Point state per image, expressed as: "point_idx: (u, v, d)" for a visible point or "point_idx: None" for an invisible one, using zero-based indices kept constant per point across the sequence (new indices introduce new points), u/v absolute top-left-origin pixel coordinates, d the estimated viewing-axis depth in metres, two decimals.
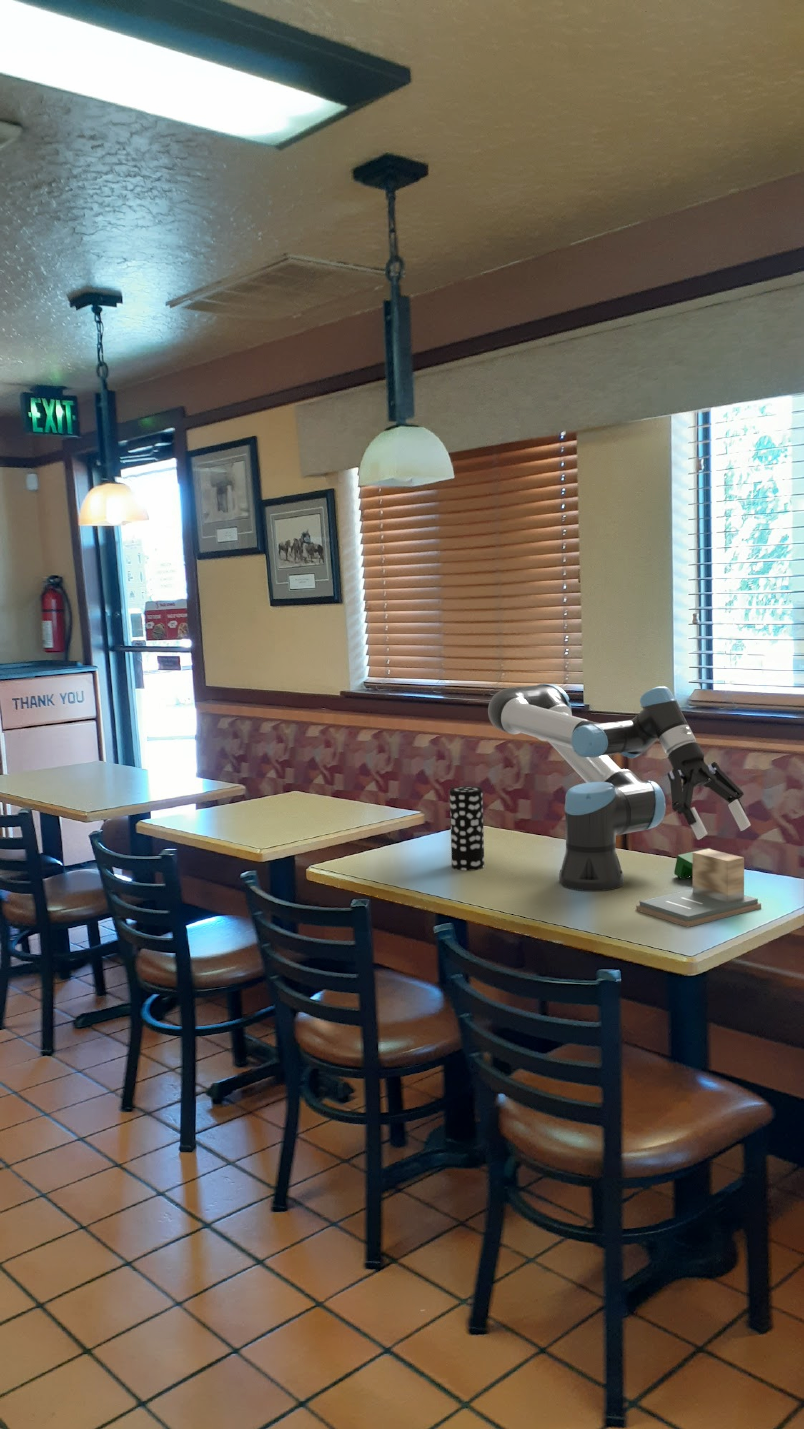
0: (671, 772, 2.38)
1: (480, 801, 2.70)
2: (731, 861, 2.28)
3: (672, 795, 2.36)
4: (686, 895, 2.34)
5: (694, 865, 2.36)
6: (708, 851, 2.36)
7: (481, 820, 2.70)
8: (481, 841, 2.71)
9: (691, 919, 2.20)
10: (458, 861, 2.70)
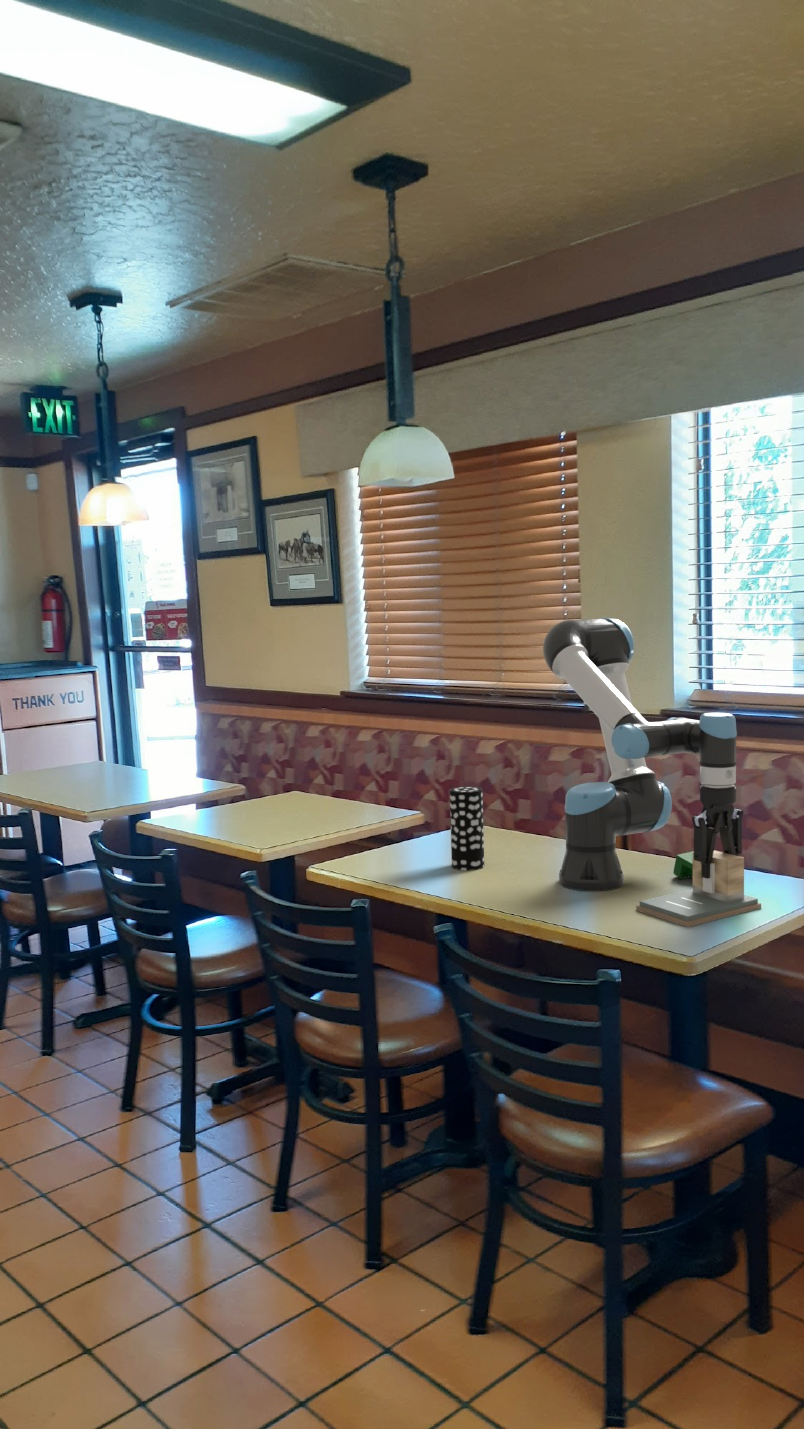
0: (696, 820, 2.29)
1: (480, 801, 2.70)
2: (731, 861, 2.28)
3: (695, 844, 2.30)
4: (686, 895, 2.34)
5: (693, 865, 2.36)
6: None
7: (481, 820, 2.70)
8: (481, 841, 2.71)
9: (691, 919, 2.20)
10: (458, 861, 2.70)
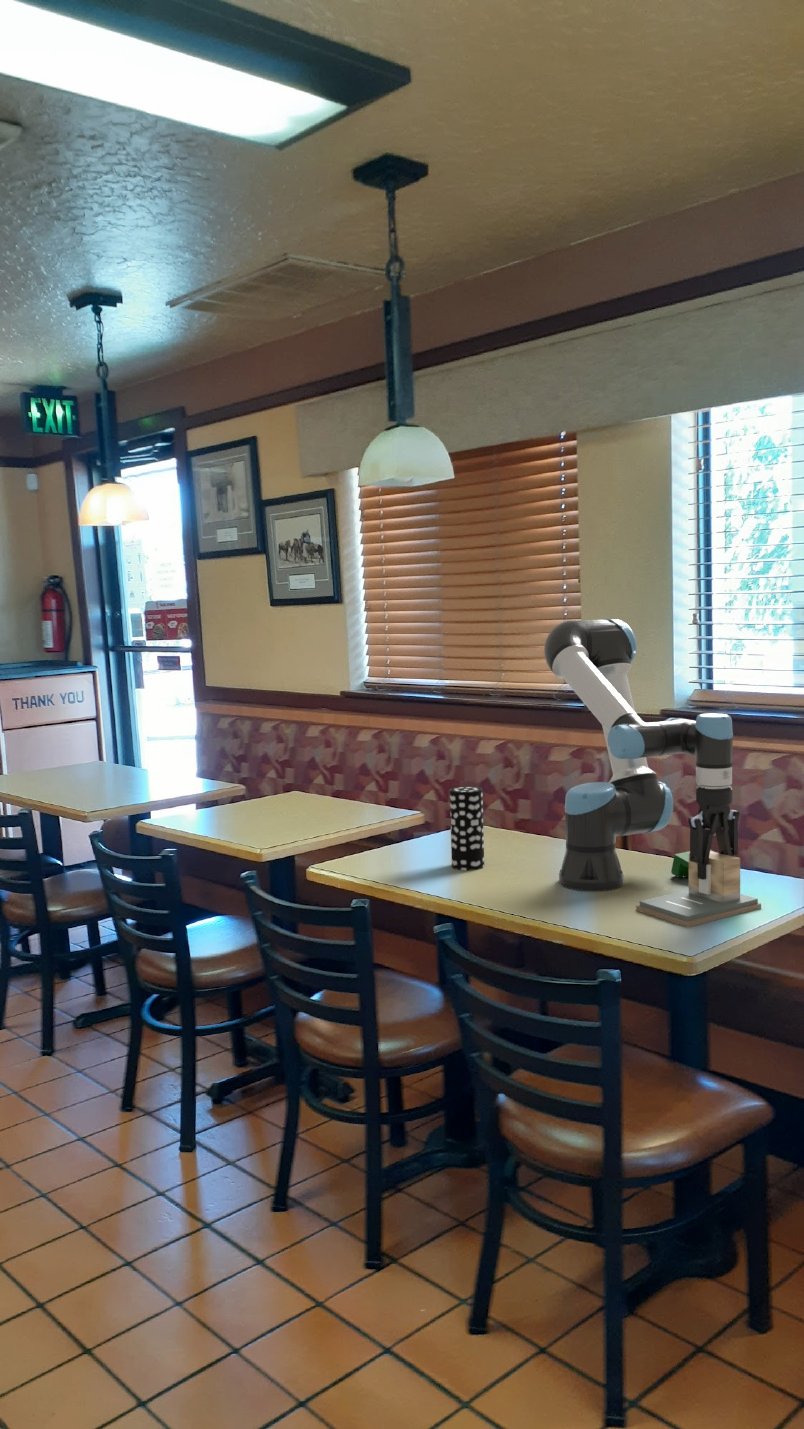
0: (692, 821, 2.28)
1: (480, 801, 2.70)
2: (727, 862, 2.28)
3: (691, 845, 2.30)
4: (686, 895, 2.34)
5: (690, 866, 2.35)
6: None
7: (481, 820, 2.70)
8: (481, 841, 2.71)
9: (691, 919, 2.20)
10: (458, 861, 2.70)
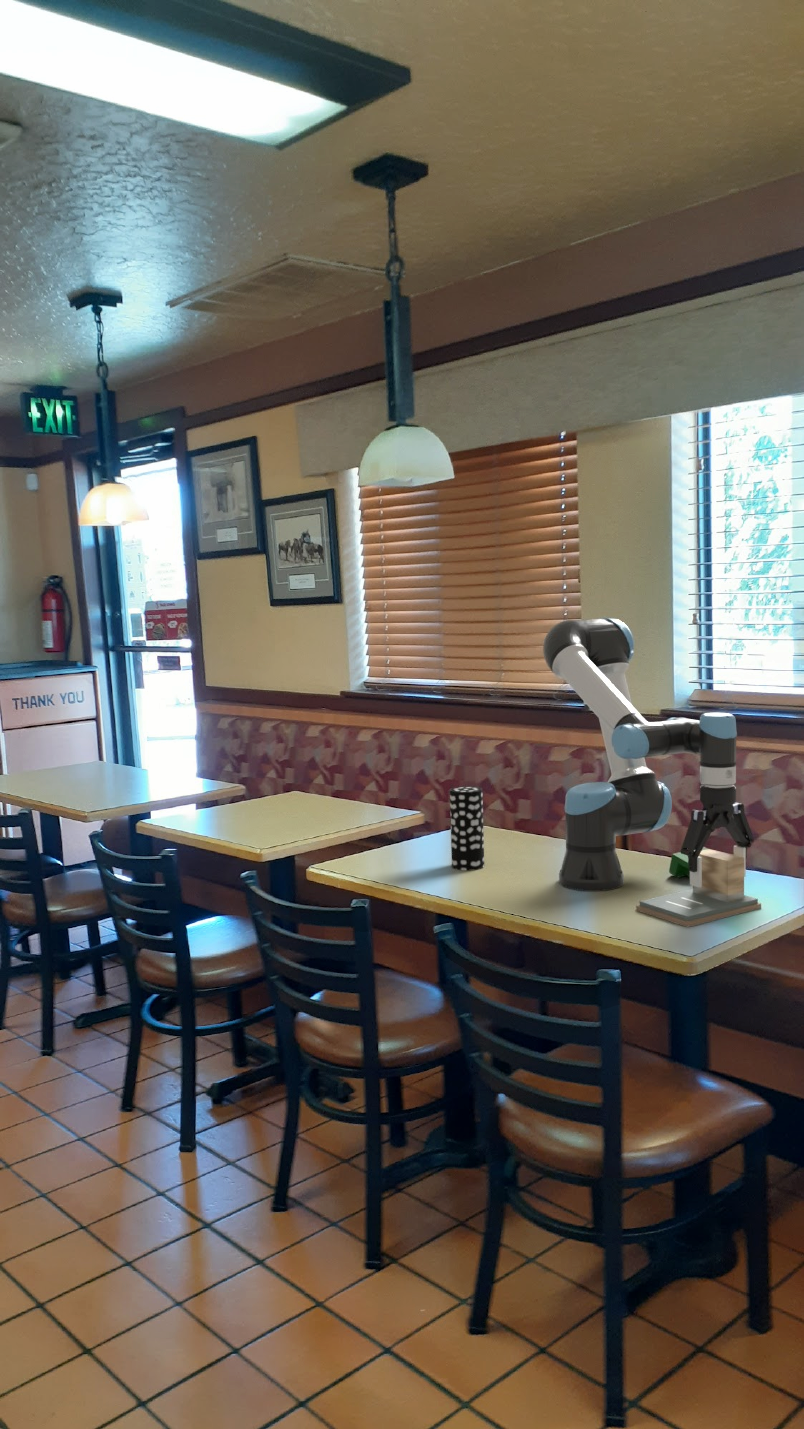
0: (695, 813, 2.28)
1: (480, 801, 2.70)
2: (731, 861, 2.28)
3: (686, 837, 2.29)
4: (686, 895, 2.34)
5: None
6: (708, 851, 2.36)
7: (481, 820, 2.70)
8: (481, 841, 2.71)
9: (691, 919, 2.20)
10: (458, 861, 2.70)
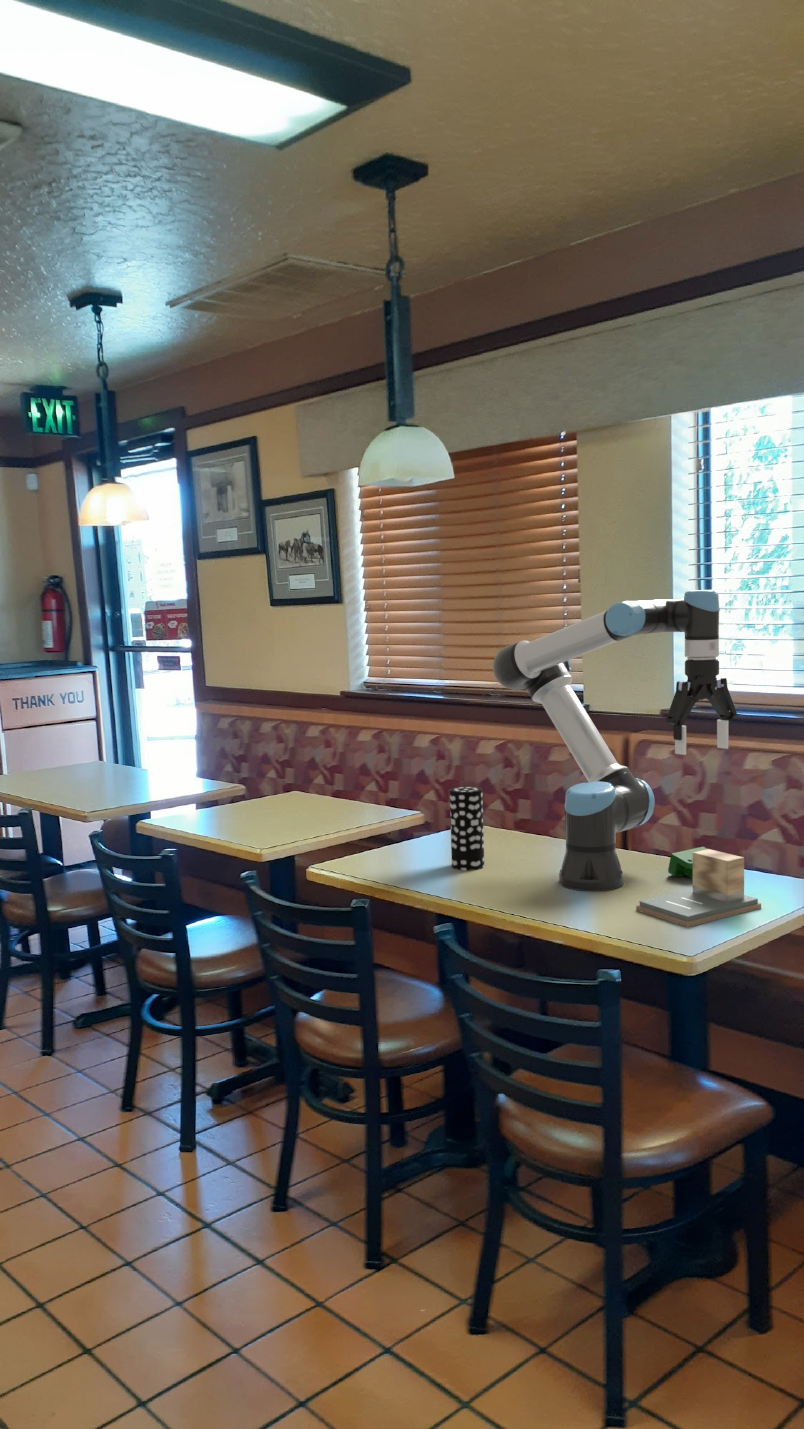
0: (680, 683, 2.40)
1: (480, 801, 2.70)
2: (731, 861, 2.28)
3: (671, 706, 2.40)
4: (686, 895, 2.34)
5: (694, 865, 2.36)
6: (708, 851, 2.36)
7: (481, 820, 2.70)
8: (481, 841, 2.71)
9: (691, 919, 2.20)
10: (458, 861, 2.70)
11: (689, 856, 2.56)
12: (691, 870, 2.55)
